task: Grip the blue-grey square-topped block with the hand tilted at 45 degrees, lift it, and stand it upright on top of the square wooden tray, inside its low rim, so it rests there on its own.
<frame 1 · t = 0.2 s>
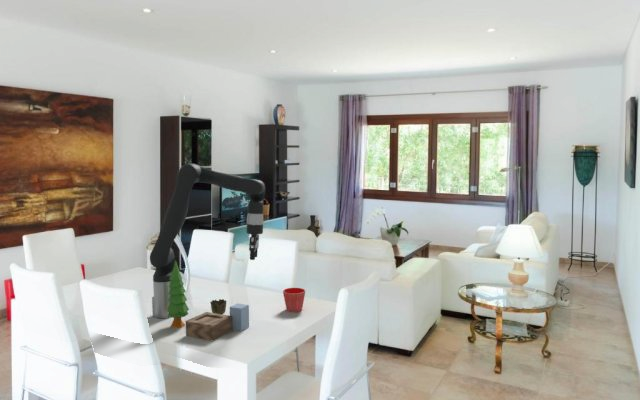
hand: (253, 258, 241), 29 cm above the table, tool pointing down, fingers open, 8 cm apart
cup: (218, 318, 247), on the table
square wooden tray: (209, 333, 226), on the table
flower pot: (294, 309, 259), on the table
blue-grey square-topped block: (239, 328, 232), on the table
decorative tree: (178, 326, 235), on the table
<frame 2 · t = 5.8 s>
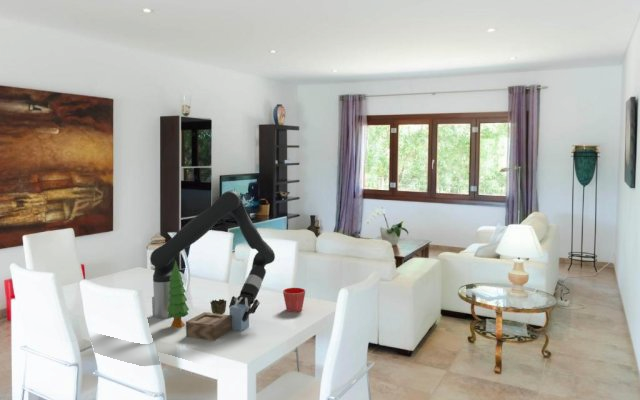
hand: (237, 319, 230), 4 cm above the table, tool tilted 45°, fingers closed on blue-grey square-topped block, 6 cm apart
blue-grey square-topped block: (239, 328, 232), on the table, touching gripper
everything else where it was.
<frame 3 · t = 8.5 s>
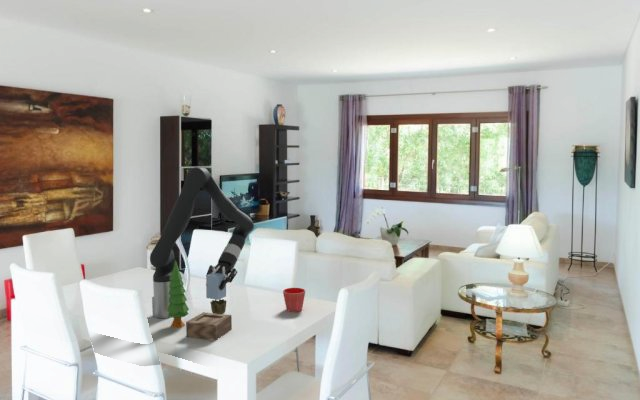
hand: (213, 288, 225), 20 cm above the table, tool tilted 45°, fingers closed on blue-grey square-topped block, 6 cm apart
blue-grey square-topped block: (216, 297, 226), point 15 cm above the table, touching gripper
everything else where it was.
when the fingers open (11 cm above the table, at t = 11.1 s): blue-grey square-topped block stays where it is, point 6 cm above the table.
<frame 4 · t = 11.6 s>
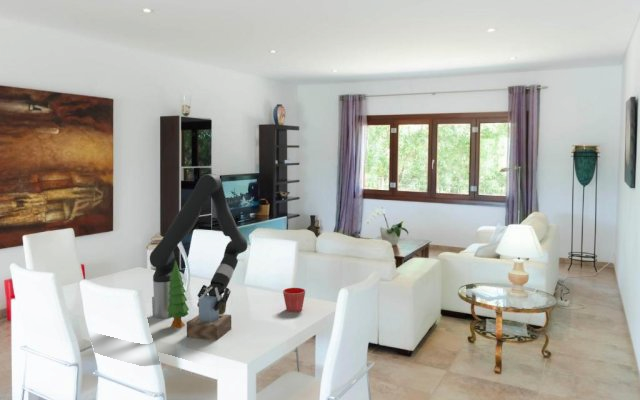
hand: (206, 308, 224), 11 cm above the table, tool tilted 45°, fingers open, 8 cm apart
blue-grey square-topped block: (209, 320, 225), point 6 cm above the table
everything else where it was.
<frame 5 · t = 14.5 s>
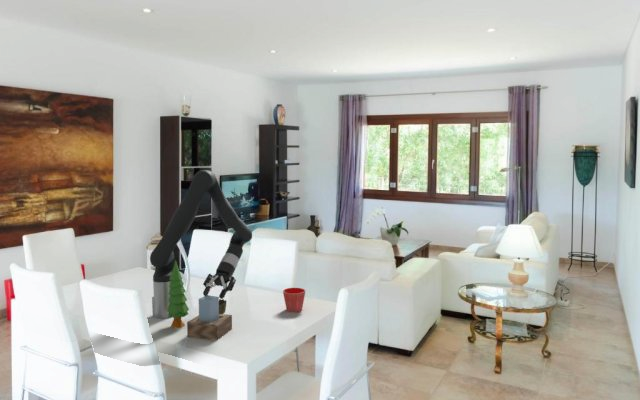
hand: (212, 296, 227), 15 cm above the table, tool tilted 45°, fingers open, 8 cm apart
square wooden tray: (210, 333, 226), on the table, touching blue-grey square-topped block
blue-grey square-topped block: (209, 320, 225), point 6 cm above the table, touching square wooden tray
everything else where it was.
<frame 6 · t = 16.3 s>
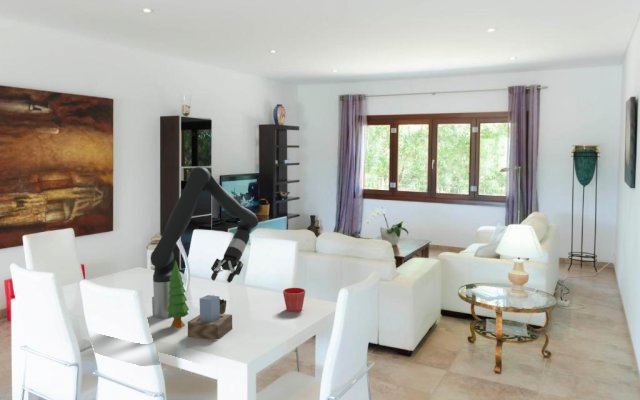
hand: (220, 280, 232), 21 cm above the table, tool tilted 45°, fingers open, 8 cm apart
nothing on the table moved.
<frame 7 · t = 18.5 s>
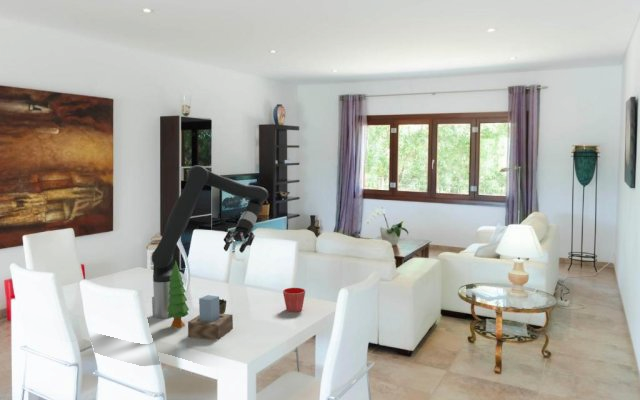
hand: (232, 250, 240), 33 cm above the table, tool tilted 45°, fingers open, 8 cm apart
nothing on the table moved.
at the end: blue-grey square-topped block inside the target area on the square wooden tray (0.4 cm from its centre), point 6.0 cm above the square wooden tray's base; blue-grey square-topped block tilted 1°; blue-grey square-topped block touching square wooden tray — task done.
